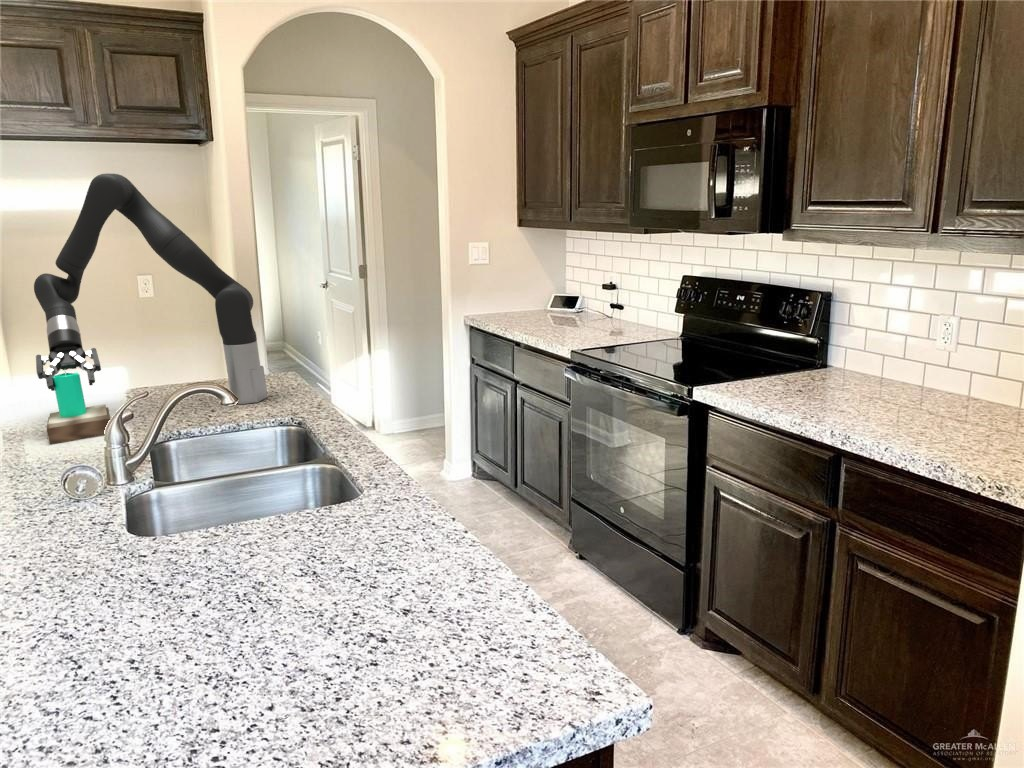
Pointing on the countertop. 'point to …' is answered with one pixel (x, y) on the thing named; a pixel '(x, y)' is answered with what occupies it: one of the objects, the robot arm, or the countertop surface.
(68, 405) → the candle
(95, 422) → the plinth
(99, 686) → the countertop surface
